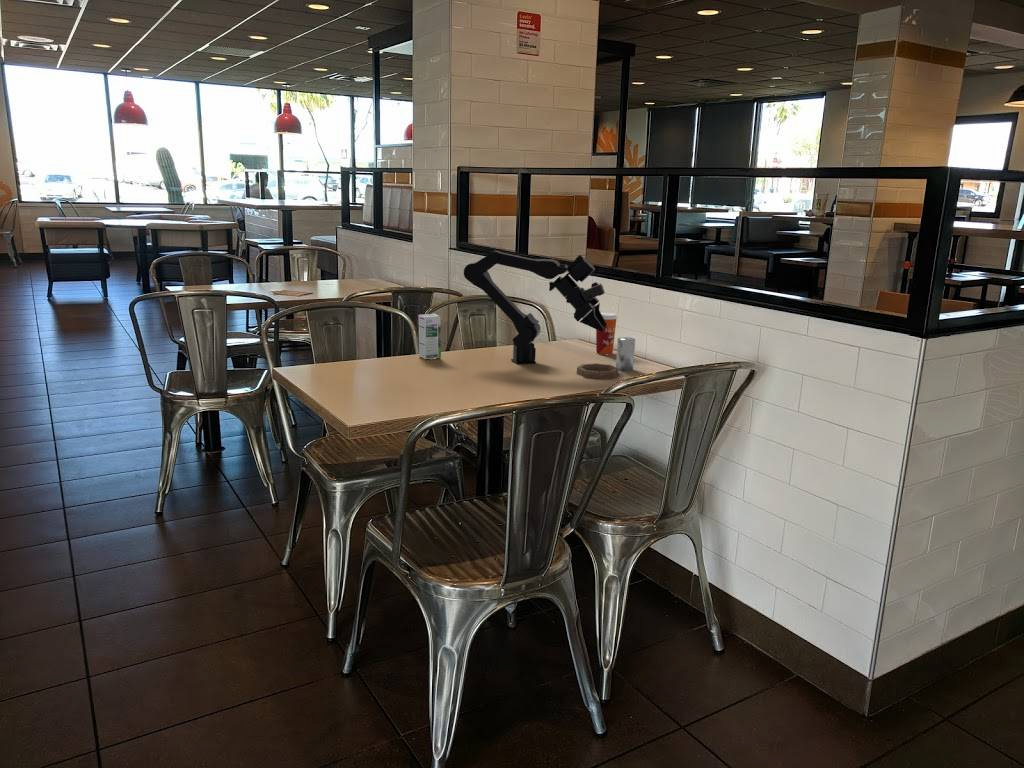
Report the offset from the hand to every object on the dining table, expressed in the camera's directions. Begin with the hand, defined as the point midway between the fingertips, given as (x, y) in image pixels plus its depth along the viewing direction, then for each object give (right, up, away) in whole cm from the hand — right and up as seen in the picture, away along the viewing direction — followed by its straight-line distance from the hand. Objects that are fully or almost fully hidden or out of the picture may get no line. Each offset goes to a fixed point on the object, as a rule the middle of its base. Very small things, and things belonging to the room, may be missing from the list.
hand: (604, 328), depth 243 cm
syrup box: (-57, -9, +12) cm, 59 cm away
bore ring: (-3, -15, -6) cm, 16 cm away
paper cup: (+3, -7, +26) cm, 27 cm away
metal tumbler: (+7, -13, +2) cm, 15 cm away
